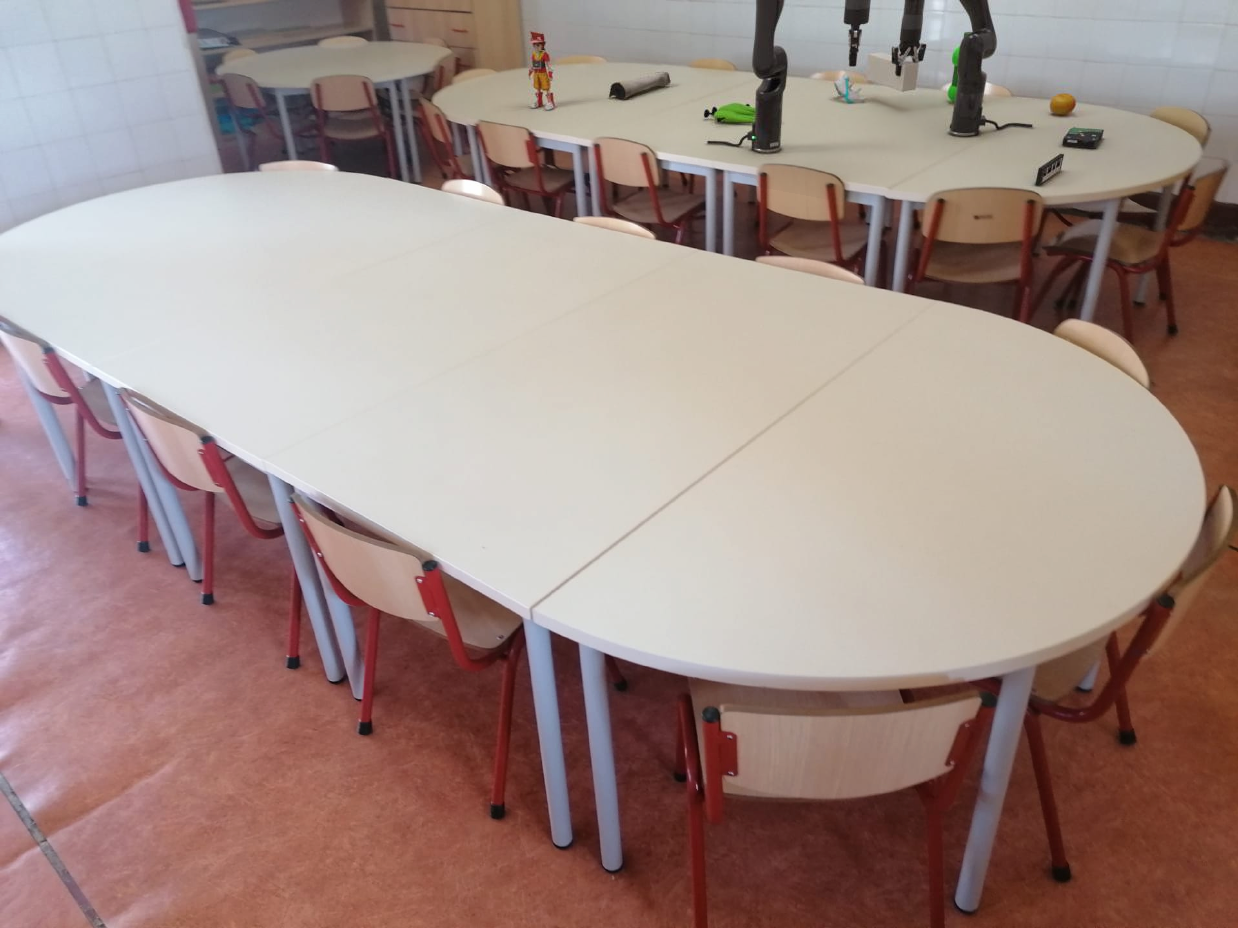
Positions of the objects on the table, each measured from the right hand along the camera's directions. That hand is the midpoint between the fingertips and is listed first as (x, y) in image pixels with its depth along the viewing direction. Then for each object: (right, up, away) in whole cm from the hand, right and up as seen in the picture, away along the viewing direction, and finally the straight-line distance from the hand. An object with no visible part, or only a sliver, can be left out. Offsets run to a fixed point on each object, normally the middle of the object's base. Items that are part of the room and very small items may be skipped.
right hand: (905, 74), depth 342 cm
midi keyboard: (+22, -61, -67) cm, 93 cm away
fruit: (+54, -19, -10) cm, 58 cm away
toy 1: (-142, +4, +41) cm, 148 cm away
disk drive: (+47, -40, -39) cm, 73 cm away
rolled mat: (-100, +16, +55) cm, 115 cm away
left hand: (-36, -23, -61) cm, 75 cm away
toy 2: (-60, -15, +7) cm, 63 cm away
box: (-3, +1, +10) cm, 11 cm away
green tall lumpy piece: (+25, -6, +12) cm, 28 cm away
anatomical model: (-16, +1, +25) cm, 30 cm away
